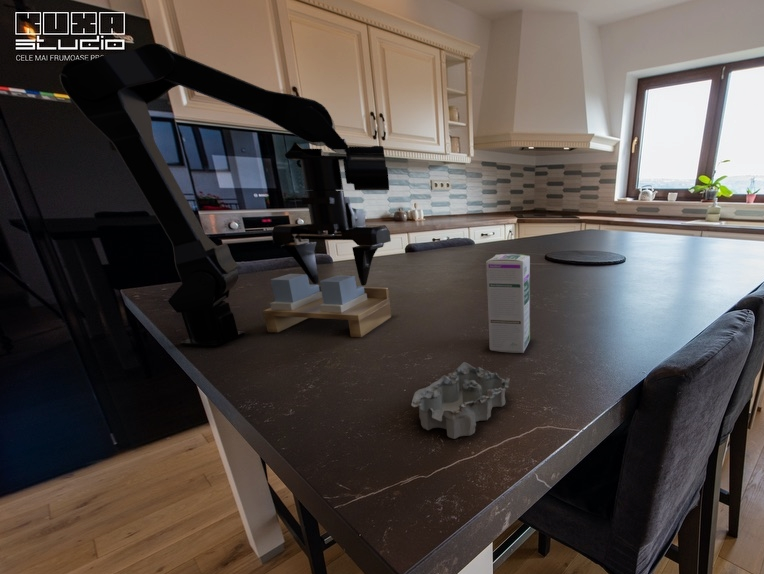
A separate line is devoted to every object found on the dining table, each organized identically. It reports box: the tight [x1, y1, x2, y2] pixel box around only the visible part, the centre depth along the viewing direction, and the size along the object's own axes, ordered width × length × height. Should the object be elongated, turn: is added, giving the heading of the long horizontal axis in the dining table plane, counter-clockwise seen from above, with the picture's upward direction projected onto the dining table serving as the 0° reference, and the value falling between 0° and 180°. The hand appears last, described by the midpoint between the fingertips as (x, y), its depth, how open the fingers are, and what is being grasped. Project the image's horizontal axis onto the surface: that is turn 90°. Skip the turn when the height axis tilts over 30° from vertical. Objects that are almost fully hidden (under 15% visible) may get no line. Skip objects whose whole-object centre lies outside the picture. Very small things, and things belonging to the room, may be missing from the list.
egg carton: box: [411, 361, 511, 440], centre depth 45 cm, size 11×8×4 cm
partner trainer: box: [269, 273, 323, 310], centre depth 73 cm, size 9×4×5 cm, turn 171°
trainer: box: [319, 274, 367, 313], centre depth 72 cm, size 9×4×5 cm, turn 171°
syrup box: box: [485, 253, 531, 354], centre depth 62 cm, size 6×6×14 cm
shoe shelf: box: [262, 284, 392, 338], centre depth 74 cm, size 18×12×6 cm, turn 81°
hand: (339, 284), depth 70 cm, fingers open, 9 cm apart
